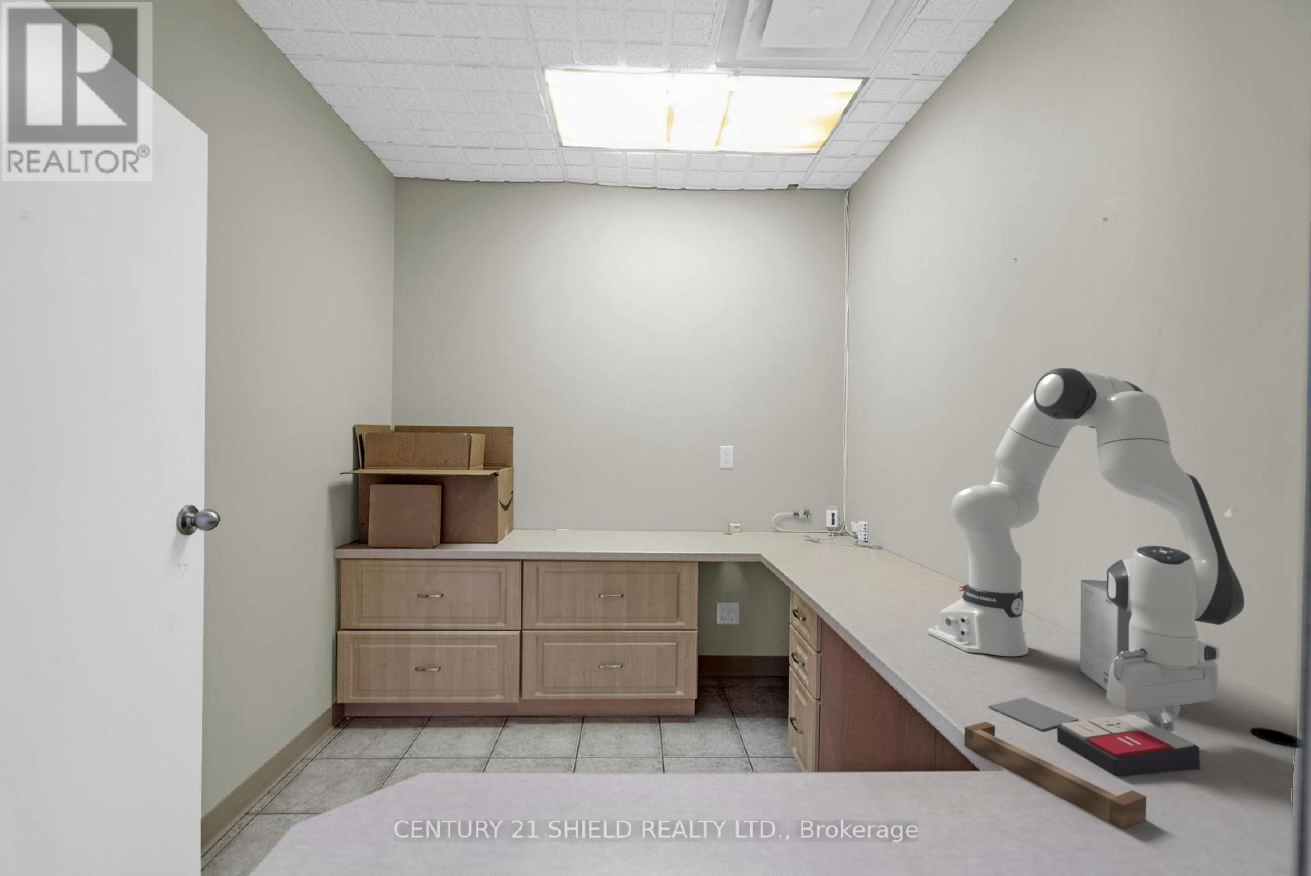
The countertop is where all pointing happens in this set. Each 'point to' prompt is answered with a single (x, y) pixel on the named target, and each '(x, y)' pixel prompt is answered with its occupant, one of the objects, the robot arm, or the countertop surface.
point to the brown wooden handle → (1057, 778)
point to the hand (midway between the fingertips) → (1161, 731)
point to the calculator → (1129, 746)
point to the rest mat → (1033, 713)
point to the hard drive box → (1101, 631)
